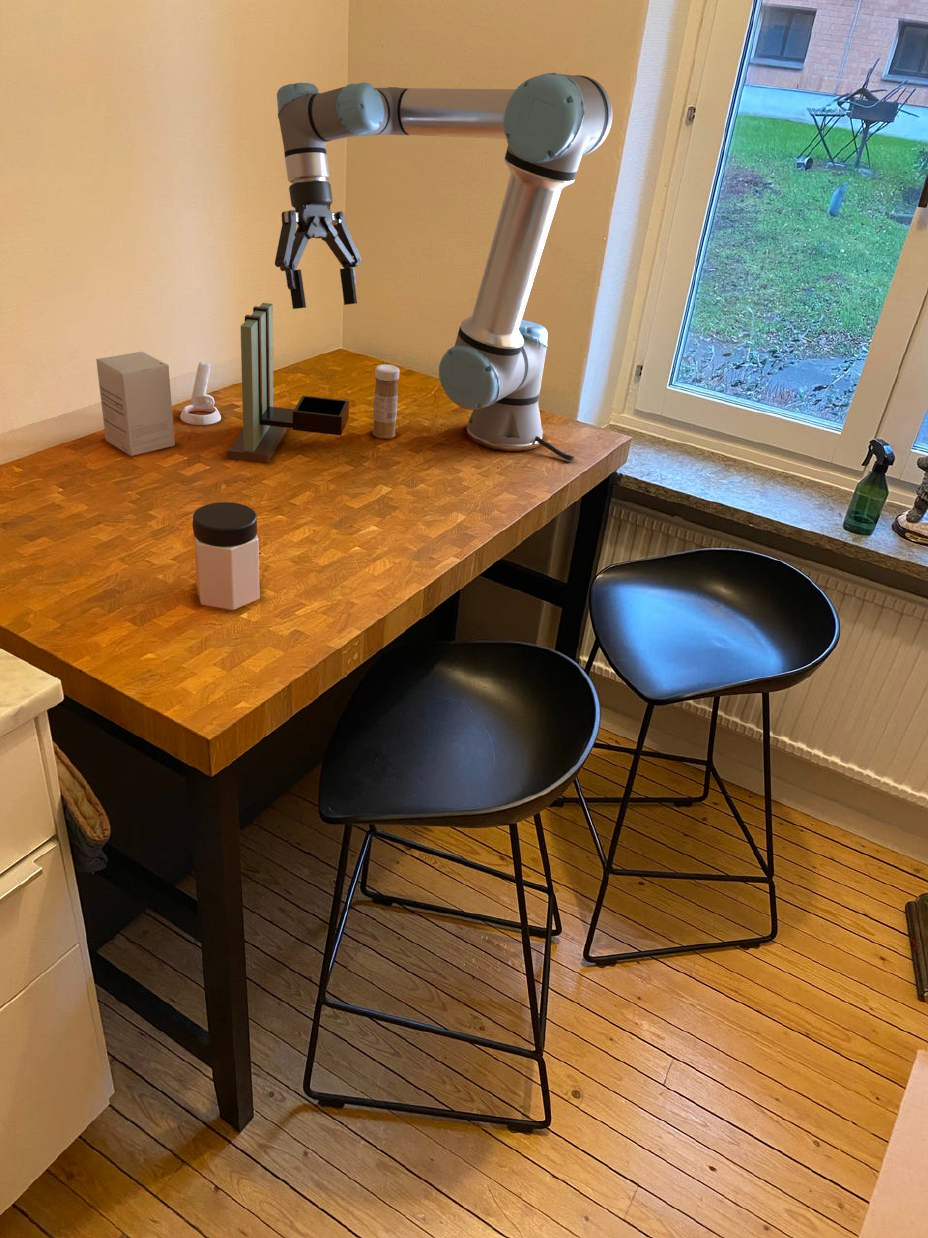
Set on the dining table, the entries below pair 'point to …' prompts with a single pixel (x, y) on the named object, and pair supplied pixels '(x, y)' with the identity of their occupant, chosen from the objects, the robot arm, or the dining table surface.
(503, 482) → the dining table surface
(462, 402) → the robot arm
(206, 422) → the white vr controller
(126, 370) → the rectangular carton
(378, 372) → the sprinkles bottle
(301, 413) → the black tray bracket
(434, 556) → the dining table surface
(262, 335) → the green slatted stand
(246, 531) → the jar
